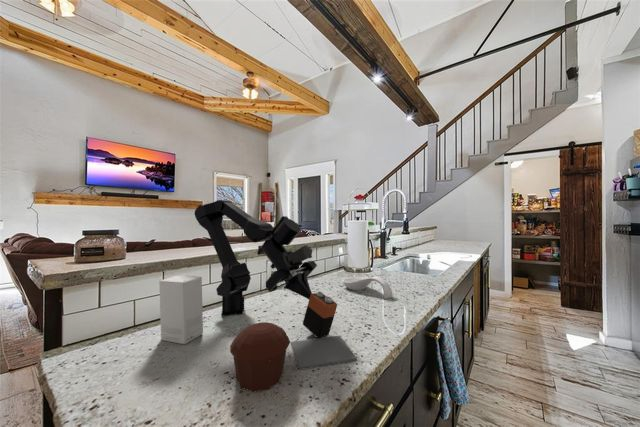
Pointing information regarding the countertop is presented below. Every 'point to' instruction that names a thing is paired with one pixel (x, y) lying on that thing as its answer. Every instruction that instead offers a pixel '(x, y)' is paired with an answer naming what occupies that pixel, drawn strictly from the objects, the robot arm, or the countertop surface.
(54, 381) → the countertop surface
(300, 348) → the rubber mat
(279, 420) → the countertop surface
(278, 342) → the muffin
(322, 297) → the battery
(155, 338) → the countertop surface
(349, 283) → the spoon rest
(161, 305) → the skincare box
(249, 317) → the countertop surface
